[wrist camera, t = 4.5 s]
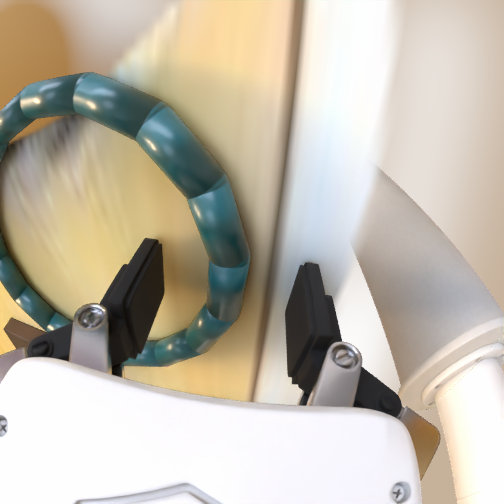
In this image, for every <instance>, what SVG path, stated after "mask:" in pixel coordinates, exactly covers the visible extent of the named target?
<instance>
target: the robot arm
mask: <svg viewBox="0 0 504 504" xmlns="http://www.w3.org/2000/svg"><path fill="white" fill-rule="evenodd" d="M163 296H164V274H163V254H162V244H160V243H159V242H158V240H155V239H149V238H145V239H144V240H143V242H142V243H141V245H140V247H139V248H138V250H137V251H136V253H135V254H134V256H133V258H132V259H131V261H130V263H129V264H124V265H123V266H122V267H121V269H120V270H119V272H118V274H117V275H116V277H115V279H114V280H113V282H112V283H111V285H110V287H109V288H108V290H107V292H106V294H105V295H104V297H103V299H102V300H101V302H100V304H98V303H90V304H86V305H84V306H82V307H81V308H79V309H78V310H77V312H76V313H75V316H74V321H73V323H70V324H68V325H65V326H63V327H60V328H58V329H55V330H53V331H50V332H48V333H45V334H43V335H40V336H38V337H36V338H34V339H33V340H32V341H31V342H30V344H29V345H28V348H26V349H25V348H24V346H23V347H21V348H18V349H15V350H13V351H10V352H7V353H5V354H2V355H0V504H422V493H421V482H420V481H421V480H422V478H423V476H424V474H425V472H426V470H427V468H428V466H429V464H430V463H431V460H432V458H433V456H434V454H435V452H436V450H437V448H438V446H439V443H440V433H439V431H438V429H437V428H436V427H435V426H434V425H432V424H431V423H429V422H428V421H426V420H425V419H424V418H422V417H421V416H419V415H418V414H416V413H415V412H414V411H413V410H411V409H410V408H408V407H407V406H406V407H405V408H404V407H402V404H401V400H400V398H399V396H398V395H397V394H396V393H395V392H394V391H393V390H391V389H390V388H389V387H387V386H386V385H385V384H383V383H382V382H381V381H380V380H378V379H377V378H376V377H374V376H373V375H372V374H370V373H369V372H368V371H367V370H365V369H364V368H363V367H362V356H361V353H360V352H359V350H358V349H357V348H356V347H355V346H353V345H352V344H350V343H347V342H342V339H341V334H340V329H339V325H338V320H337V316H336V311H335V307H334V303H333V299H332V296H330V295H325V291H324V286H323V282H322V278H321V273H320V269H319V265H318V264H313V263H305V264H304V265H300V267H299V270H298V273H297V276H296V279H295V282H294V286H293V289H292V292H291V295H290V298H289V301H288V304H287V307H286V311H285V323H286V344H287V370H288V377H292V384H298V387H299V388H301V389H302V390H303V391H302V393H301V396H300V398H299V401H298V404H297V405H279V404H266V403H255V402H246V401H237V400H229V399H222V398H215V397H208V396H202V395H196V394H191V393H185V392H180V391H175V390H170V389H166V388H161V387H157V386H152V385H148V384H144V383H140V382H136V381H132V380H129V379H125V373H124V362H125V361H127V360H128V358H131V359H135V360H136V358H137V355H138V353H139V354H141V353H142V352H143V349H144V346H145V344H146V341H147V338H148V335H149V333H150V330H151V327H152V325H153V322H154V319H155V317H156V314H157V311H158V309H159V306H160V304H161V301H162V299H163ZM503 362H504V346H503V345H502V344H500V343H493V344H489V345H486V346H483V347H481V348H479V349H477V350H475V351H473V352H471V353H469V354H467V355H466V356H464V357H462V358H461V359H459V360H458V361H456V362H454V363H453V364H452V365H450V366H449V367H447V368H446V369H445V370H443V371H442V372H441V373H440V374H438V375H437V376H436V377H435V378H434V379H433V380H432V381H431V382H430V383H429V384H428V385H427V386H426V387H425V389H424V391H423V392H422V395H421V397H422V402H423V404H424V405H425V406H427V407H437V409H438V413H439V416H440V420H441V424H442V428H443V432H444V436H445V440H446V444H447V449H448V453H449V458H450V463H451V468H452V473H453V480H454V486H455V493H456V501H457V504H504V372H503V370H502V368H501V366H502V364H503Z"/></svg>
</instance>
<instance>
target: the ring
mask: <svg viewBox="0 0 504 504" xmlns="http://www.w3.org/2000/svg"><path fill="white" fill-rule="evenodd" d="M75 114H80V115H82V116H84V117H87V118H89V119H91V120H93V121H95V122H97V123H100V124H102V125H104V126H106V127H108V128H110V129H112V130H114V131H116V132H118V133H121V134H123V135H125V136H127V137H129V138H131V139H133V140H135V141H136V142H137V143H138V144H139V145H140V146H141V147H142V149H143V150H144V151H145V152H146V153H147V154H148V155H149V157H150V158H151V159H152V160H153V161H154V162H155V163H156V164H157V166H158V167H159V168H160V169H161V170H162V171H163V172H164V174H165V175H166V176H167V177H168V178H169V179H170V180H171V181H172V183H173V184H174V185H175V186H176V187H177V188H178V189H179V191H180V192H181V193H182V194H183V195H184V196H185V197H186V199H187V201H188V204H189V207H190V209H191V212H192V215H193V217H194V220H195V223H196V225H197V228H198V231H199V233H200V236H201V238H202V241H203V243H204V246H205V249H206V251H207V254H208V256H209V272H208V287H207V302H206V303H205V305H204V306H203V307H202V309H201V310H200V312H199V313H198V314H197V316H196V317H195V319H194V320H193V321H192V323H191V324H190V326H189V327H188V328H186V329H184V330H182V331H180V332H178V333H175V334H173V335H171V336H169V337H167V338H164V339H162V340H160V341H146V344H145V346H144V349H143V352H142V353H141V354H139V353H138V355H137V358H136V360H135V359H131V358H128V360H127V361H125V362H124V366H146V367H166V366H170V365H173V364H176V363H178V362H181V361H184V360H187V359H190V358H192V357H195V356H198V355H201V354H203V353H206V352H207V351H208V350H210V348H211V347H212V346H213V345H214V344H215V343H216V342H217V341H218V340H219V339H220V337H221V336H222V335H223V334H224V333H225V332H226V331H227V330H228V329H229V327H230V326H231V325H232V324H233V323H234V322H235V321H236V320H237V318H238V317H239V315H240V312H241V307H242V302H243V296H244V291H245V285H246V280H247V275H248V269H249V264H250V258H251V253H250V249H249V245H248V242H247V239H246V235H245V232H244V229H243V225H242V222H241V218H240V215H239V212H238V208H237V205H236V202H235V198H234V195H233V192H232V188H231V185H230V182H229V178H228V176H227V174H226V173H225V171H224V170H223V169H222V168H221V166H220V165H219V164H218V163H217V161H216V160H215V159H214V158H213V157H212V155H211V154H210V153H209V152H208V151H207V149H206V148H205V147H204V146H203V145H202V143H201V142H200V141H199V140H198V139H197V138H196V136H195V135H194V134H193V133H192V132H191V130H190V129H189V128H188V127H187V126H186V125H185V123H184V122H183V121H182V120H181V119H180V118H179V116H178V115H177V114H176V113H175V112H174V111H173V109H172V108H171V107H170V106H169V105H168V104H167V103H165V102H163V101H161V100H159V99H157V98H155V97H152V96H150V95H148V94H146V93H144V92H141V91H139V90H137V89H134V88H132V87H130V86H127V85H125V84H122V83H120V82H118V81H115V80H113V79H110V78H107V77H105V76H102V75H100V74H97V73H93V72H86V73H80V74H74V75H68V76H63V77H57V78H53V79H48V80H44V81H39V82H35V83H32V84H29V85H28V86H26V87H25V88H24V89H23V90H22V91H20V92H19V93H18V94H17V95H16V96H15V97H14V98H13V99H12V100H11V101H10V102H9V103H8V104H7V105H6V106H5V107H4V108H3V109H2V110H1V111H0V163H1V160H2V158H3V155H4V153H5V151H6V148H7V146H8V144H9V141H10V140H12V139H13V138H14V137H15V136H16V135H17V134H18V133H20V132H21V131H22V130H23V129H24V128H25V127H27V126H28V125H29V124H30V123H32V122H33V121H34V120H35V119H38V118H45V117H54V116H63V115H75ZM0 281H1V283H2V284H3V286H4V287H5V289H6V290H7V291H8V293H9V294H10V296H11V297H12V299H13V300H14V301H15V302H16V303H17V304H18V305H19V306H20V307H21V308H22V309H23V310H24V311H25V312H26V313H27V314H28V315H29V316H30V317H31V318H32V319H33V320H34V321H35V322H36V323H37V324H39V325H40V326H41V327H42V328H43V329H44V330H45V331H47V332H50V331H53V330H55V329H58V328H60V327H63V326H65V325H68V324H70V323H73V322H72V321H70V320H68V319H67V318H65V317H63V316H62V315H60V314H59V313H57V312H56V311H55V310H53V309H52V308H51V307H50V306H49V305H48V304H47V303H46V302H45V301H44V300H43V299H42V298H41V297H40V296H39V295H38V294H37V293H36V292H35V291H34V290H33V289H32V288H31V287H30V286H29V285H28V284H27V282H26V281H25V279H24V278H23V276H22V275H21V273H20V272H19V270H18V268H17V267H16V265H15V264H14V262H13V260H12V259H11V257H10V255H9V253H8V252H7V249H6V246H5V243H4V240H3V237H2V234H1V231H0Z"/></svg>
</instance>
